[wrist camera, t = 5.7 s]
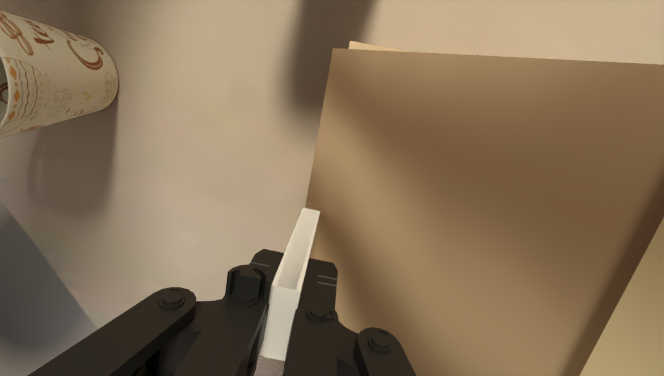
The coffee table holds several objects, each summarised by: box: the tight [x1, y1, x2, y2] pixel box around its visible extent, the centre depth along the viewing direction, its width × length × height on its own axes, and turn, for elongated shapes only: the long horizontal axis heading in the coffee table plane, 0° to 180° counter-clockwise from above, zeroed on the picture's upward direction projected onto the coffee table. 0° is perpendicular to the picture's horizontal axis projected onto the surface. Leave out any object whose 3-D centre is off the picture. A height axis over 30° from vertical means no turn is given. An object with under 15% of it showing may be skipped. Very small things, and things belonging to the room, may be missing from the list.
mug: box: [0, 10, 118, 138], centre depth 25 cm, size 8×13×10 cm, turn 126°
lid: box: [306, 48, 664, 376], centre depth 12 cm, size 17×16×1 cm
